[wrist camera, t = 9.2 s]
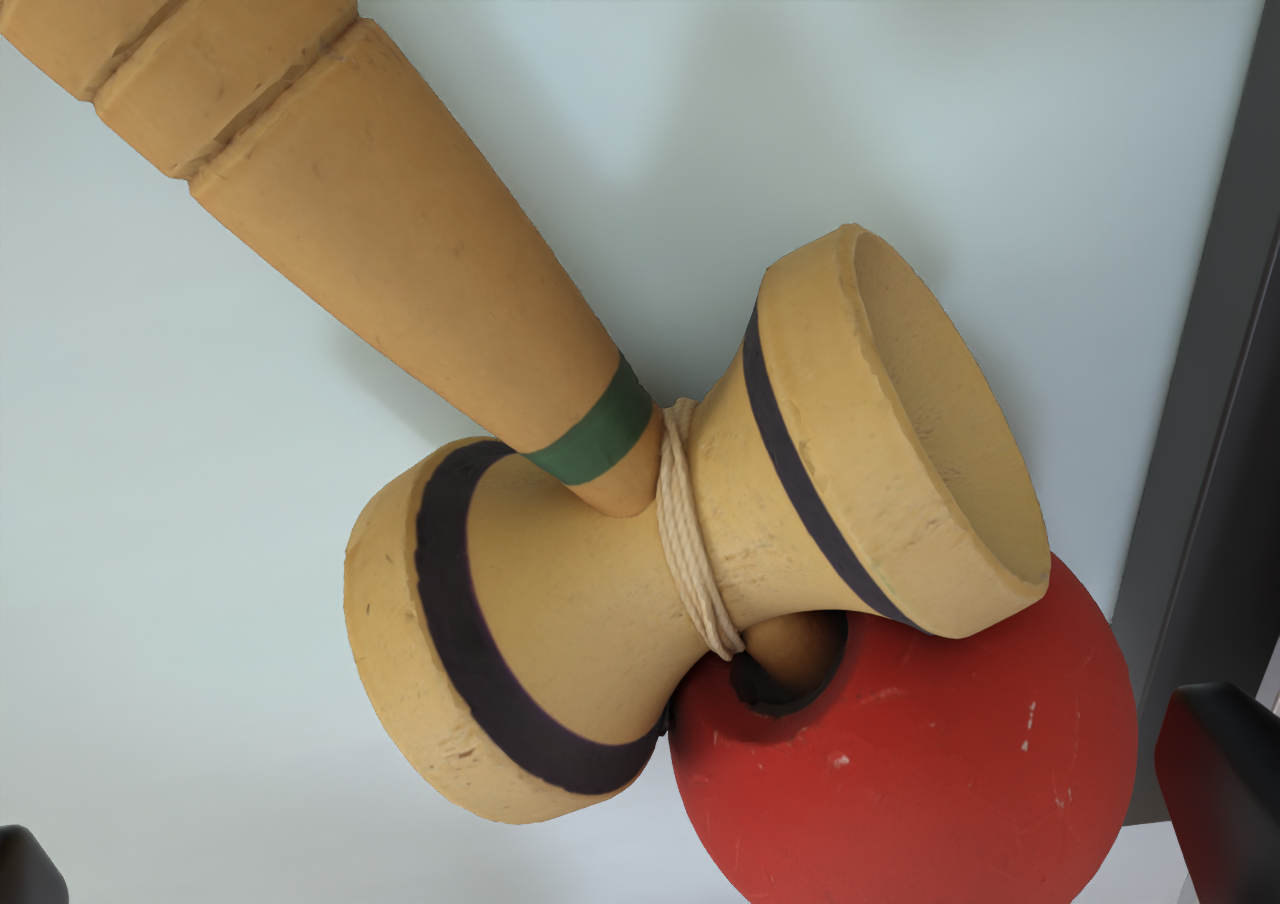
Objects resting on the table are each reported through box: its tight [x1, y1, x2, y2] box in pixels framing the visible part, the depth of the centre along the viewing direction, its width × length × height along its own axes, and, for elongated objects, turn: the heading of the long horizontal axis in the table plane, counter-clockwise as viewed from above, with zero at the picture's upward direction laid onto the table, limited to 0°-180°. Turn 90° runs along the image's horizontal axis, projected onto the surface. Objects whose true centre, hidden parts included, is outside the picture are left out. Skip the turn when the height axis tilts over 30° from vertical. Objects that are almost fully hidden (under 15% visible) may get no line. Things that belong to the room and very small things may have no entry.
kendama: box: [0, 0, 1139, 904], centre depth 13 cm, size 8×6×18 cm
